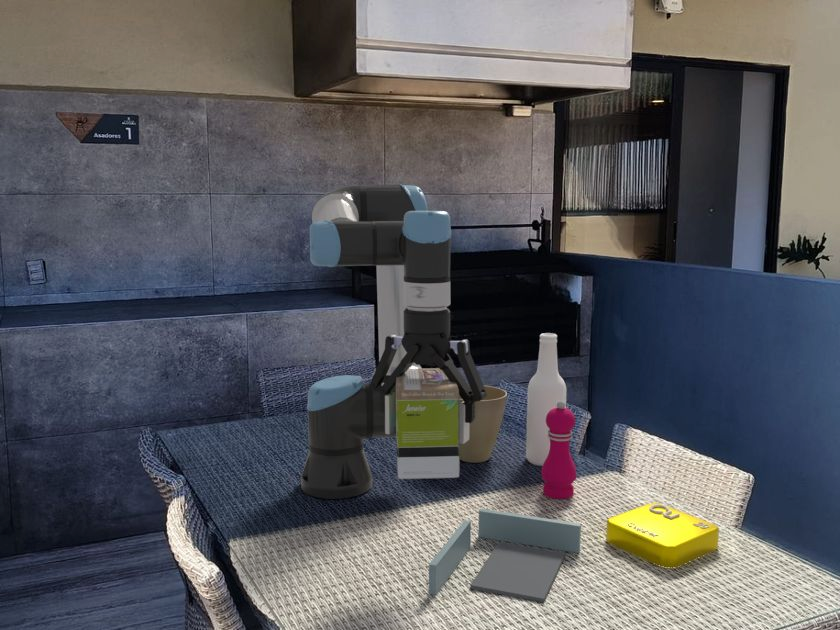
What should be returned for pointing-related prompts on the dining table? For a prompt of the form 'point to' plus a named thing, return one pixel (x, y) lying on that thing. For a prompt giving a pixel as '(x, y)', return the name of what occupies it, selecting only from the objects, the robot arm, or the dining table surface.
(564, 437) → the pepper mill
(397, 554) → the dining table surface
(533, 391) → the alcohol
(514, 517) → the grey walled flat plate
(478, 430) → the plant pot
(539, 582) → the mat
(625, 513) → the element tile
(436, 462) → the tea box
